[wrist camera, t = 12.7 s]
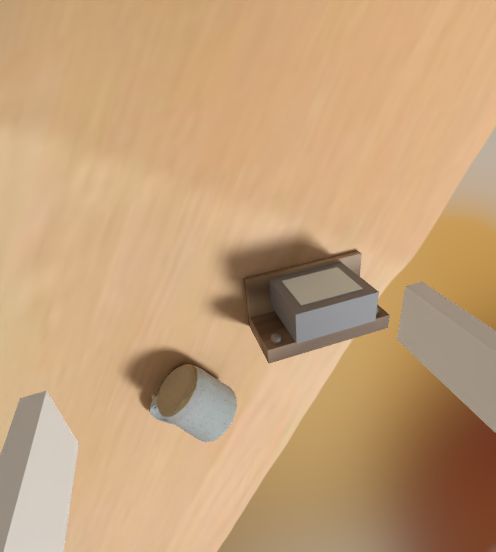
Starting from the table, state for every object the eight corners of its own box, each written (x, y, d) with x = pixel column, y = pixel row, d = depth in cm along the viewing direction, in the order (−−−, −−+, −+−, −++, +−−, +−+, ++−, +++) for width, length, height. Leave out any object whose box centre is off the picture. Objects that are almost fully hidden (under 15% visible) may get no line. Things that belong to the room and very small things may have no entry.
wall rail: (243, 278, 42) (264, 311, 36) (357, 251, 45) (394, 276, 39) (249, 326, 46) (268, 363, 40) (354, 297, 49) (387, 327, 43)
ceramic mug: (189, 349, 45) (199, 393, 38) (230, 375, 49) (244, 419, 43) (134, 399, 46) (134, 450, 40) (178, 420, 50) (184, 469, 44)
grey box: (269, 278, 42) (295, 314, 36) (340, 261, 44) (378, 291, 38) (271, 305, 44) (296, 343, 38) (339, 287, 46) (375, 320, 40)
